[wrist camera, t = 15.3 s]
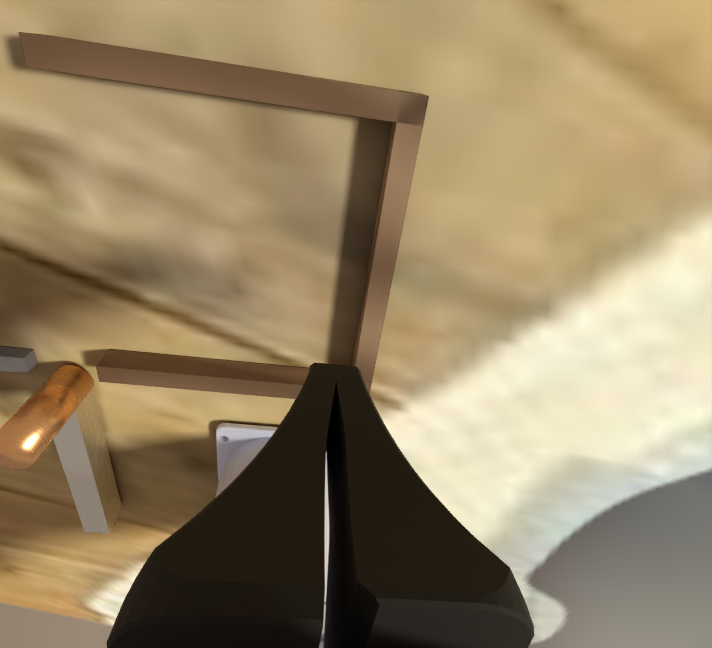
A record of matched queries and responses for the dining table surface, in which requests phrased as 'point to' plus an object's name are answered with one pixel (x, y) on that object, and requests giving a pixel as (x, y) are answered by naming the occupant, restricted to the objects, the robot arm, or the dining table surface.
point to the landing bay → (17, 360)
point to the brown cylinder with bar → (67, 444)
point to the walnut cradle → (272, 89)
